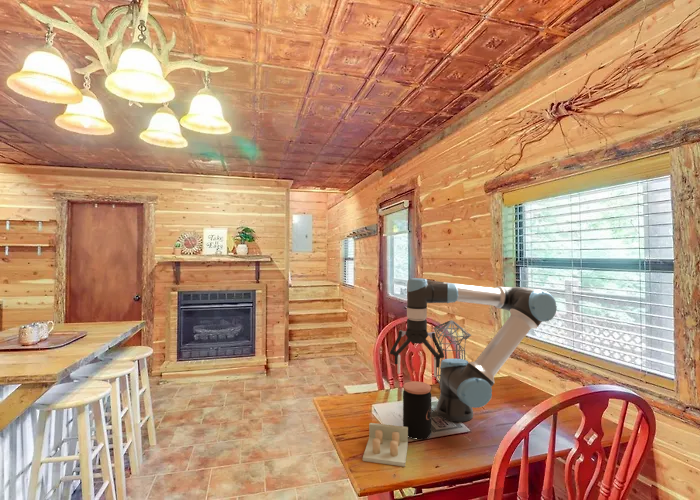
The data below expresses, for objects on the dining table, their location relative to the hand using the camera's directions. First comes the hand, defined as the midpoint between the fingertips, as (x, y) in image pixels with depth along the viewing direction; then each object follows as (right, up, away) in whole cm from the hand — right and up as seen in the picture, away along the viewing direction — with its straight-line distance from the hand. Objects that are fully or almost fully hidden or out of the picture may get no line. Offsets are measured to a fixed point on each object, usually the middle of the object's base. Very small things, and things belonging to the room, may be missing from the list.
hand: (416, 374), depth 135 cm
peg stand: (-13, -23, -12) cm, 29 cm away
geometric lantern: (+25, -23, +41) cm, 54 cm away
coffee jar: (0, -23, 0) cm, 23 cm away
